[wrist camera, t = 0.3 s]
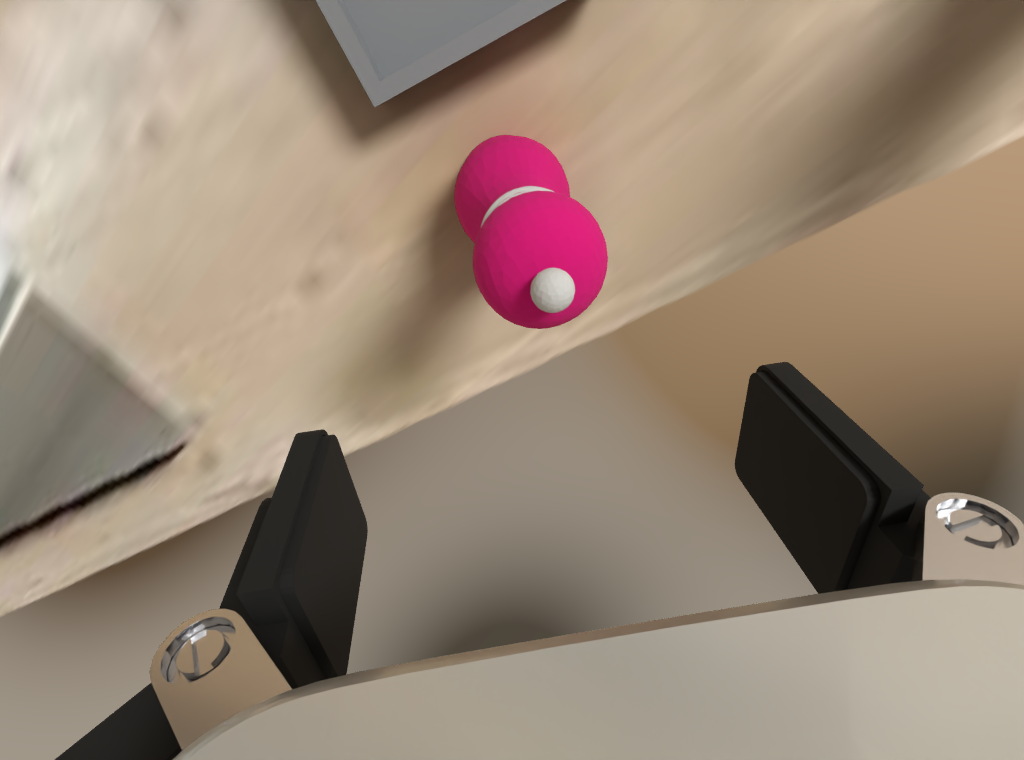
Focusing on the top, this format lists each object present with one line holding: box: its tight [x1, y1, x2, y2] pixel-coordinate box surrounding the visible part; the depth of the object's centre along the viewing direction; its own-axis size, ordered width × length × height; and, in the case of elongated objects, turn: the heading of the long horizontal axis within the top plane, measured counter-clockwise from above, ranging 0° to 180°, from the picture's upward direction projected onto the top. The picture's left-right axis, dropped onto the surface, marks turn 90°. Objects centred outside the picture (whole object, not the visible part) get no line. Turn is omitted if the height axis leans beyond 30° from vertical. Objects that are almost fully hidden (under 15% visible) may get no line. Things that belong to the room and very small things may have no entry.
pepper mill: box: [454, 135, 608, 329], centre depth 29 cm, size 7×7×20 cm
